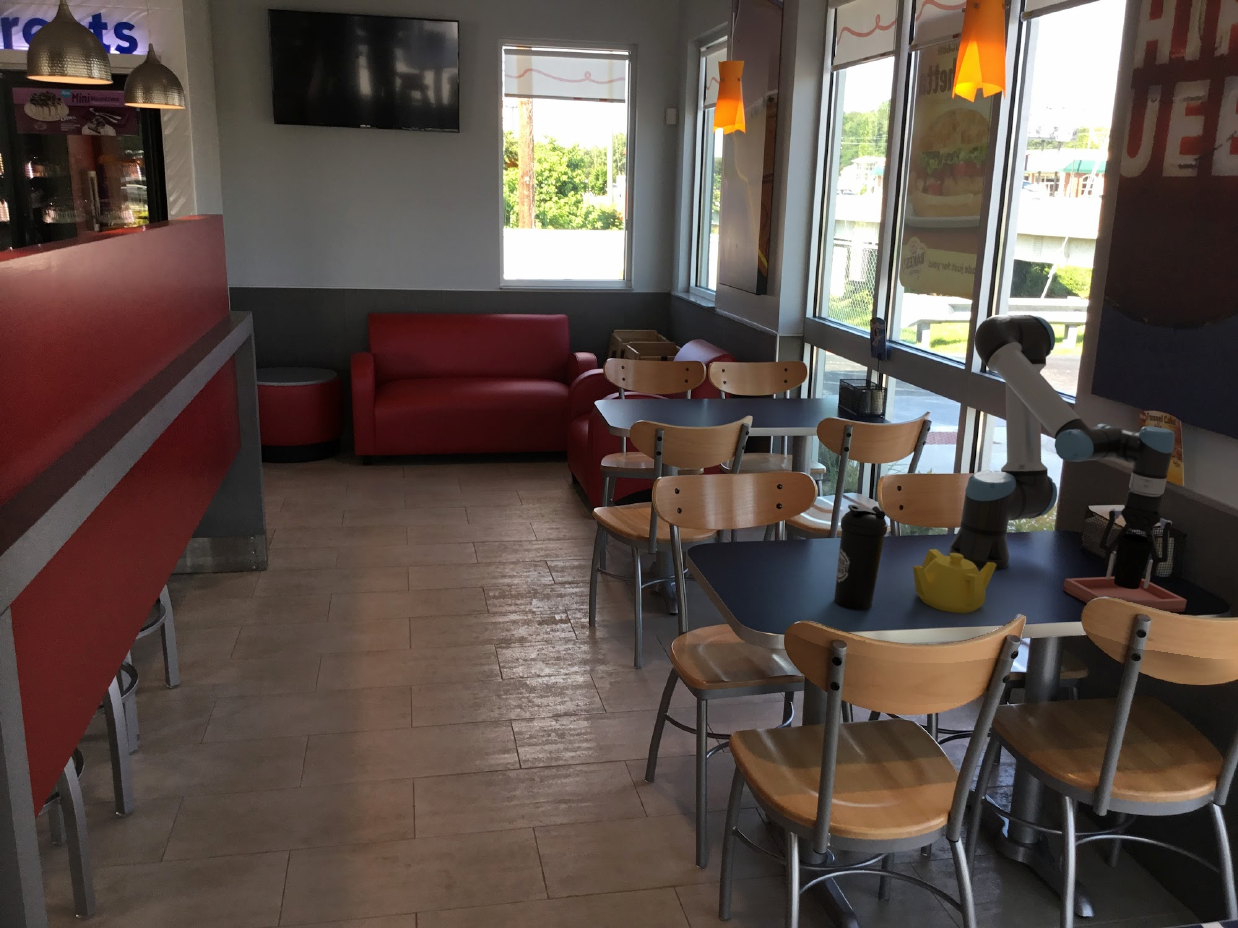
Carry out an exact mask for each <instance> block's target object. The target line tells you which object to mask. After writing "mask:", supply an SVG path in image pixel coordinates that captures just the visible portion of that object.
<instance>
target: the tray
mask: <svg viewBox="0 0 1238 928" xmlns="http://www.w3.org/2000/svg"><path fill="white" fill-rule="evenodd" d="M1114 577H1115V576H1111V578H1110V579H1109V580H1108V579H1106V576H1100V577H1099V576H1098V577H1095V576H1094V577H1076V578H1075V577H1074V578H1064V583H1063V587H1062V591H1064V592H1066V593H1068V594H1069V595H1071V596H1073V597H1075V598H1076V597H1077V598H1076V599H1078V598H1079V599H1078V600H1080V601H1082V600H1083V601H1082V602H1084V601H1085V602H1084V603H1086V604H1087V602H1089V600H1092V598H1097V597H1103V596H1107V597H1115V598H1120V599H1122V600H1126V601H1127V602H1133V603H1137V604H1141V605H1145V606H1148V607H1153V608H1158V609H1159V610H1165V611H1172V612H1171V613H1184V612H1185V610H1186V606H1187V601H1188V600H1187V599H1185V598H1184V597H1182V596H1180V595H1178V594H1175V593H1173V592H1171V591H1170V590H1167V589H1165V588H1163V587H1161V586H1159V585H1157V584H1155V583H1153V582H1151V581H1149V585H1148V587H1147V589H1146V588H1143V587H1144V583H1145V578H1143V577H1142V580H1141V583H1140V586H1139V588H1138V589H1127V588H1123V587H1120V586H1117V585H1116V584H1114Z"/></svg>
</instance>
